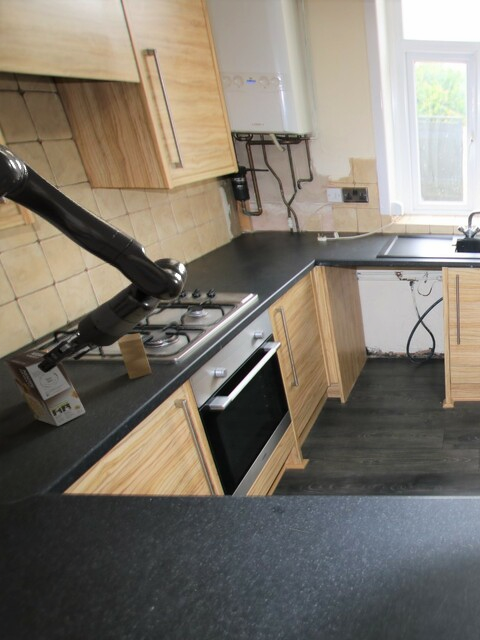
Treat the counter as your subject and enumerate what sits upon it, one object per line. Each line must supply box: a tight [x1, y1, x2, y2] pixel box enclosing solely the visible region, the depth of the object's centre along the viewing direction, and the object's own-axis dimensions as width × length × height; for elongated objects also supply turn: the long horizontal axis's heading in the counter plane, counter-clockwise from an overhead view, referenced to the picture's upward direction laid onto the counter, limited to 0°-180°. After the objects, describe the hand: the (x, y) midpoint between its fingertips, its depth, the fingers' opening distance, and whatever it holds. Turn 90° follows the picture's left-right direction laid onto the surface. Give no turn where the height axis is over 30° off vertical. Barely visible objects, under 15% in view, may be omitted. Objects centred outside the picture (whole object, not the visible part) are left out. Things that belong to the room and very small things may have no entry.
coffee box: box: [2, 348, 86, 427], centre depth 110 cm, size 9×6×16 cm
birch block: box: [117, 332, 152, 380], centre depth 131 cm, size 5×5×12 cm
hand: (58, 362), depth 107 cm, fingers open, 8 cm apart
